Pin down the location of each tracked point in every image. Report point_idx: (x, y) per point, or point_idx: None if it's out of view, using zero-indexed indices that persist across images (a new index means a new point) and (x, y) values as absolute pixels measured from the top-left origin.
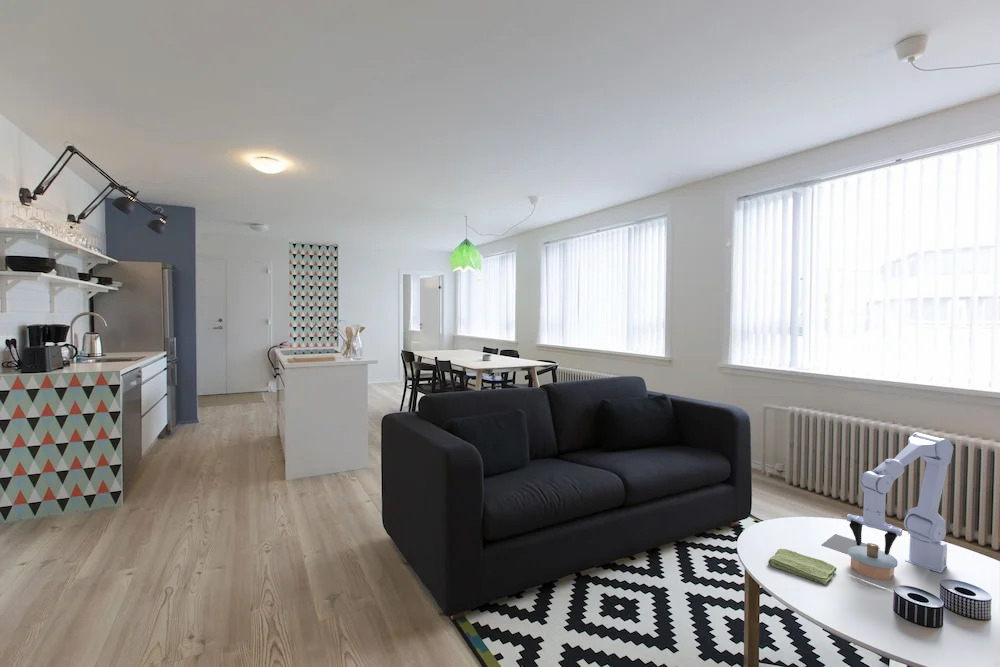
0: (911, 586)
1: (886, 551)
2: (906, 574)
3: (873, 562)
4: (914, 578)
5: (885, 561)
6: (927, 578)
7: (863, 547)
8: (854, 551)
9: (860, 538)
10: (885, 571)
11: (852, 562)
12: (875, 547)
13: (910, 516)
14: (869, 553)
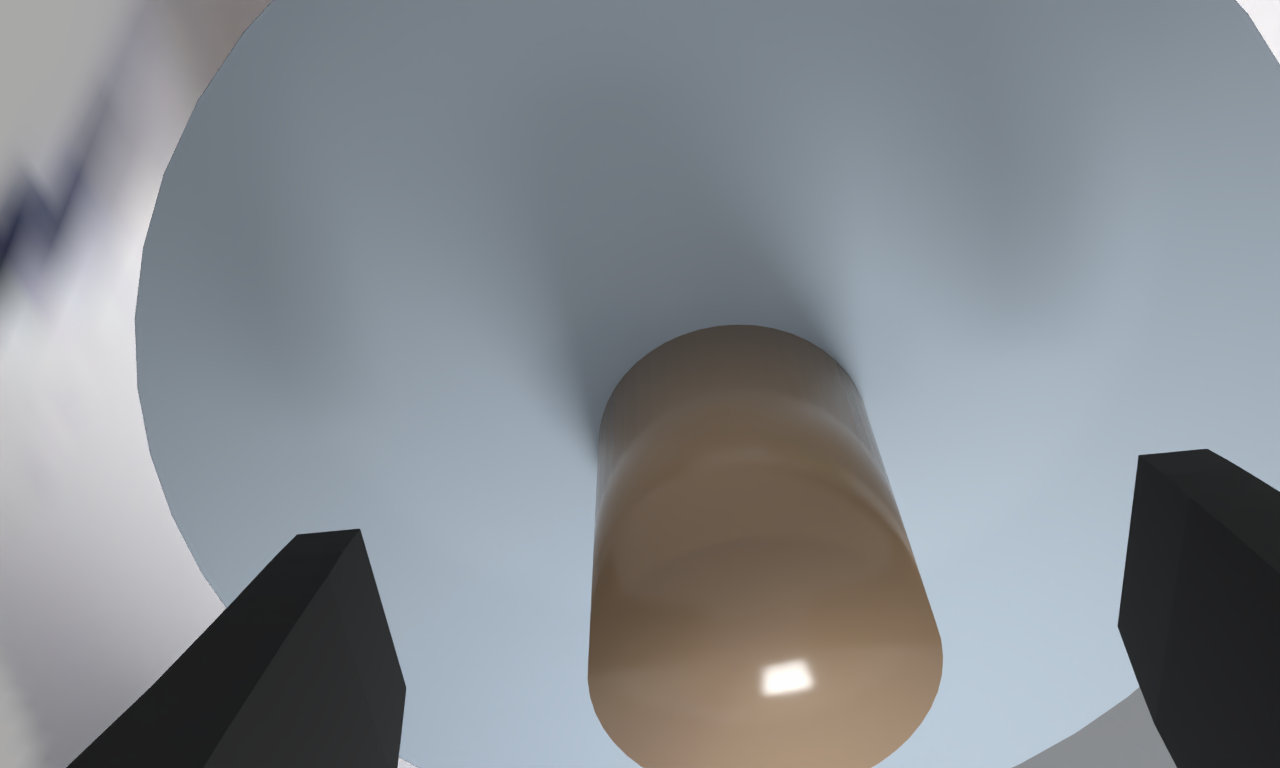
0: (19, 283)
1: (262, 595)
2: None
3: (522, 27)
4: (189, 602)
5: (381, 403)
6: None
7: (1043, 698)
8: (1169, 304)
9: (1227, 759)
10: None
11: None
12: (630, 590)
13: None
14: (775, 381)
